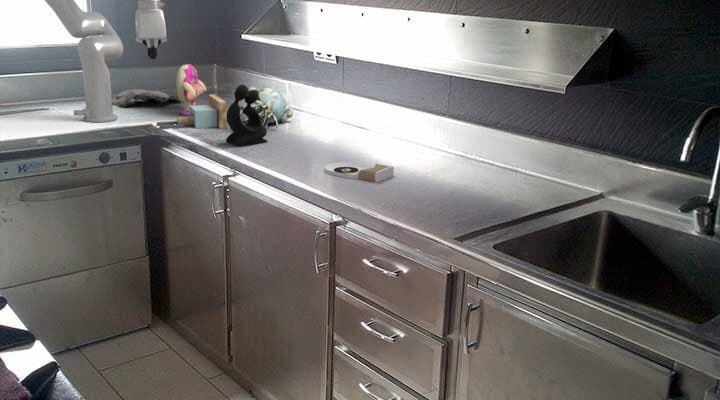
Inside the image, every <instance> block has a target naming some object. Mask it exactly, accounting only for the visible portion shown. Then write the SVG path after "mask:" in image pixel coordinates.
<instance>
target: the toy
mask: <svg viewBox="0 0 720 400" xmlns="http://www.w3.org/2000/svg"><path fill="white" fill-rule="evenodd" d="M198 78H199V76H198V70H197V69H196V68H195V67H194V65H192V64H191V63H188V64H182V65H181V66H180V67H179V68H178V70H177V74H176V81H175V82H176V83H175V84H176V94H177V95H176V96H178V97H179V99H180V101H179V102H181V103H182V104H183V105H182V107H183V108H180V109H178V114H179V116H180V117H186V116H190V113H189V106H196V101H197V99H198V97H199V96H200V95H203V94H204V93H205V92H207V87H206V85H205V83H203V81H201V80H200V79H198Z"/></svg>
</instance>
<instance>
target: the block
mask: <svg viewBox="0 0 720 400" xmlns="http://www.w3.org/2000/svg"><path fill="white" fill-rule="evenodd" d="M189 113H190V116H194V126H193V127H194V128H195V129H205V128H206V129H207V128H217V127H218V126H217V110H216V109H215V108H214V107H212V106H211V105H209V104H203V105H201V104H200V105H199V104H198V105H195V106H189Z"/></svg>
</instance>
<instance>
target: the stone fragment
mask: <svg viewBox="0 0 720 400" xmlns="http://www.w3.org/2000/svg"><path fill="white" fill-rule="evenodd" d="M152 99H154V100H155V101H156V103H165V102H168V99H172V100H175V101H177V102H181V101H180V99H179V97H178V95H175V94H173V95H172V94H171V93H164V92H162V91H159V90H158V91H155V90H145V89H140V88H139V89H137V88H134V89H126V90H123V91H121V92H120V93H118V94H116V95H115V96H114V97H113V98H112V103H114V104H115V106H116V107H118V108H122V109H124V108H127V106H128V107H129V106H130V105H136V102H137V103H138V102H143V103H144V102H147V100H152Z"/></svg>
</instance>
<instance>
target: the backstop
mask: <svg viewBox="0 0 720 400" xmlns="http://www.w3.org/2000/svg"><path fill="white" fill-rule="evenodd" d="M208 105H211V106H212V107H214V108H215V109H216V110H217V127H218V128H219V129H221V130H223V129H224V130H225V129H228V122H227V101H226V100H224V99H223V98H221V97H220V96H218V95H217V94H215V93H213V94H211V93H210V94H208Z"/></svg>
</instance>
